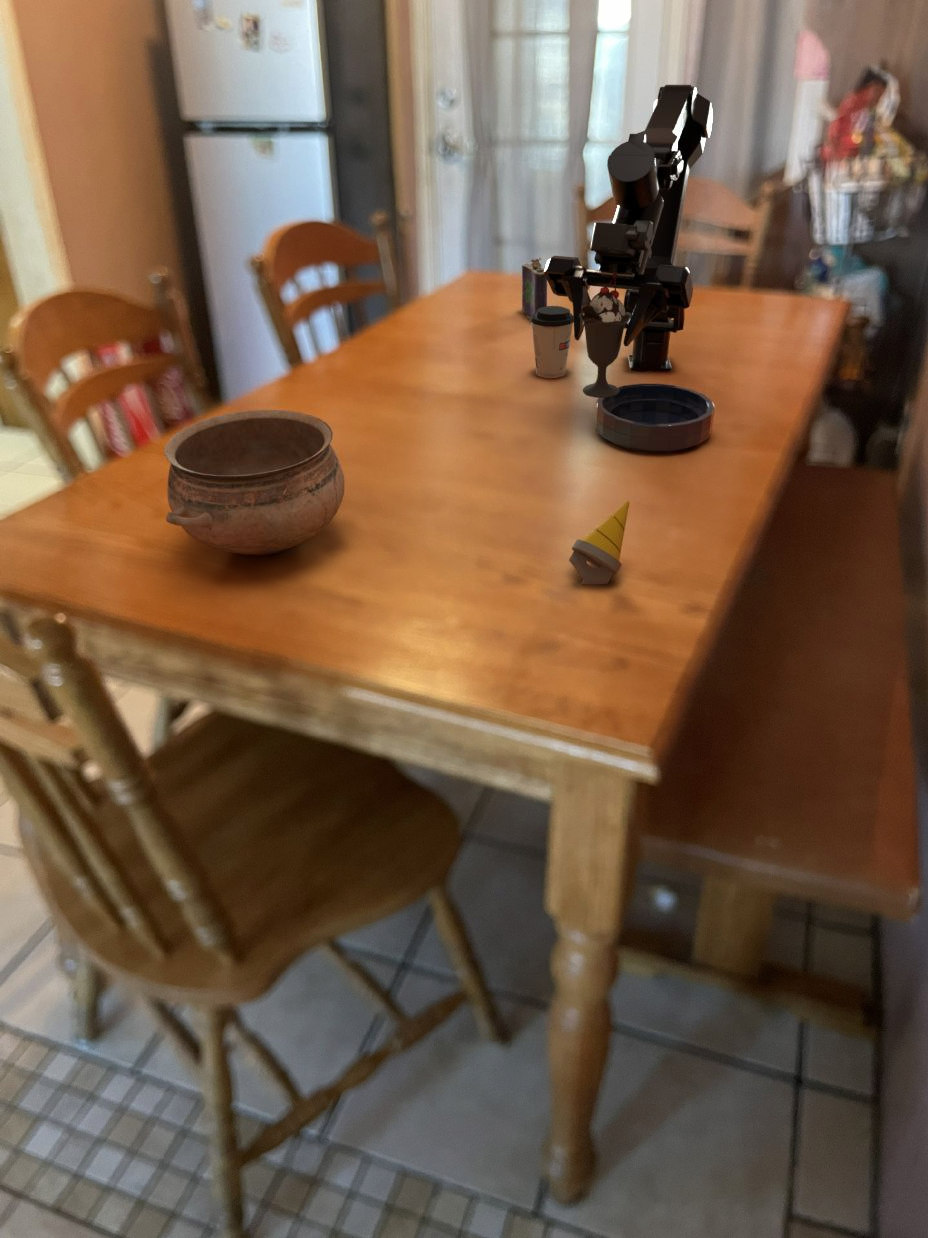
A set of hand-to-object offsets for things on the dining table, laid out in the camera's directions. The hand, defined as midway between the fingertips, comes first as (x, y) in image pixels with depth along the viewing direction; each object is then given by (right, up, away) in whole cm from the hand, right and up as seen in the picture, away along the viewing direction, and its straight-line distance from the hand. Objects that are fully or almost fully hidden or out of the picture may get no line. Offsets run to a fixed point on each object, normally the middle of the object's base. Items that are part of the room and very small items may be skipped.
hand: (600, 341), depth 117 cm
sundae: (+1, -5, +5) cm, 7 cm away
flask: (-4, +21, +55) cm, 59 cm away
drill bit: (-3, -31, -21) cm, 37 cm away
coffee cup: (-4, +4, +30) cm, 30 cm away
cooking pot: (-40, -27, -14) cm, 50 cm away
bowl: (+8, -10, +9) cm, 16 cm away
